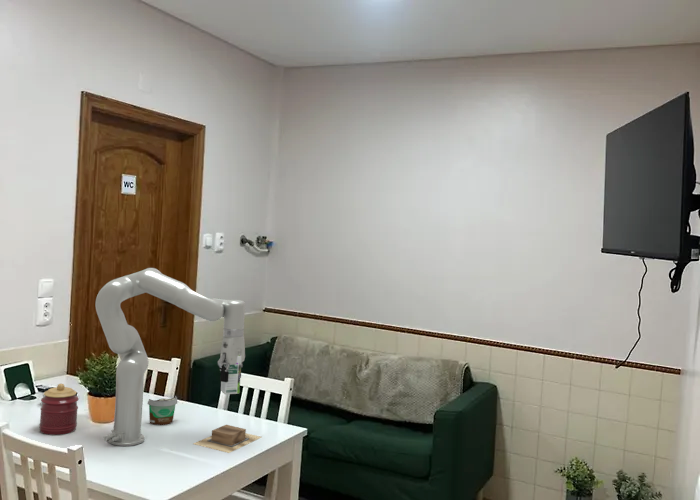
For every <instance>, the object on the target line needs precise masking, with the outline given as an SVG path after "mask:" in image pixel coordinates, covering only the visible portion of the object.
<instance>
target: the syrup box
mask: <svg viewBox="0 0 700 500" xmlns="http://www.w3.org/2000/svg"><path fill="white" fill-rule="evenodd" d="M225 363H227V360H226V361H225ZM224 366H225V367H226V365H224ZM228 372H229V376H228V382H222V381H220V392H221V393H222V394H224V395H236V394H239V395H240V393H241V391H240V389H241V387H240V386H241V378H240V374H241V375H242V367H241V355H238V356H237V363H236V364H234V365H230V366H229V369H228Z"/></svg>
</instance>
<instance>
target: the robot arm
mask: <svg viewBox="0 0 700 500" xmlns="http://www.w3.org/2000/svg"><path fill="white" fill-rule="evenodd" d="M145 293H146V294H149V295H151V296H153V297H156V298H158V299H160V300H162V301H165V302H167V303H170V304H172V305H175V306H176V307H178V308H179V309H182V310H184V311H186V312H187V313H190V314H192V315H194V316H197V317H199V318H201V319H204V320H206V321H209V322H216V321H219V320H220V319H221V318H223V329H222V330H223V331H222V333H223V334H222V340H221V346H220V358H219V359H218V360H217V366H218V368H219V371H220V375H219V376H220V377H219V379H220V380H219V381H220V382H221V381H222V382H228V376H229V372H228V369H229V366H230V365H234V364H236V363H237V356H238V355H241V368H243V366H244V365H243V364H244V363H245V358H246V349H245V348H246V344H245V343H246V342H245V335H244V332H245V330H244V329H245V316H246V315H245V313H246V303H245V301H244V300H241V299H223V298H216V297H213V298H209V297H206V296H204V295H202V294H200V293H197V292H196V291H194V290H193V289H191V288H190V287H189V286H188V285H187V284H186V283H184V282H183V281H180V280H177V279H175V278H173V277H170V276H167V275H166V274H163V273H162V272H161V271H160V270H158V269H157V268H155V267H147V268H145V269H143V270H140V271H137V272H134V273H131V274H126V275H124V276H121V277H116V278H114V279H111V280H110V281H108V282H107V283H106V284H104V285H103V286H102V288H101V289H100V290H99V291H98V294H97V296H96V298H95V302H94V303H95V311H96V314H97V317H98V320H99V322H100V324H101V325H100V326H101V328H102V331H103V334H104V336H105V338H106V342H107V344H108V347H109V349H110V350H111V351H112V352H113V353H114V354H117V355H118V356H119V359H120V361H119V362H118V364H117V366H116V370H115V371H116V372H115V387H116V388H115V404H114V416H113V417H114V419H113V429H112V430H111V433H110V434H107V435H105V436H103V441H104V442H108V443H109V444H111V445H113V446H119V447H129V446H137V445H140V444H142V443H144V442H145V435H143V434H142V432H141V431H142V430H141V429H142V418H143V417H142V416H143V405H144V404H143V402H144V378H145V377H144V376H145V373H146V371H147V369H148V368H149V357H148V355H147V352H146V350H145V347H144V344H143V342H142V338H141V337H140V334H139V332H138V330H137V329H136V328H135V327H134V326H133V325H130V324H128V322H127V320H126V317H125V313H124V312H123V310H122V308H121V304H122V302H124V301H126V300H128V299H130V298H133V297H136V296H140V295H143V294H145ZM226 360H227V363H225V361H226ZM224 365H226V367H225V366H224ZM241 378H242V373H241V374H240V379H241Z"/></svg>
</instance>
